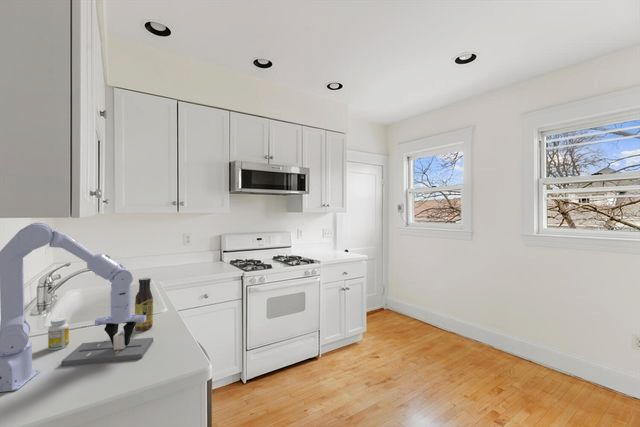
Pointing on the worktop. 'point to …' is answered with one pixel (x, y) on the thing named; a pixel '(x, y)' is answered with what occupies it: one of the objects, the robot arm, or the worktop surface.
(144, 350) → the fader console
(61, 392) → the worktop surface
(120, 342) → the fader cap
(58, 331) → the supplement bottle
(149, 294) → the sauce bottle
